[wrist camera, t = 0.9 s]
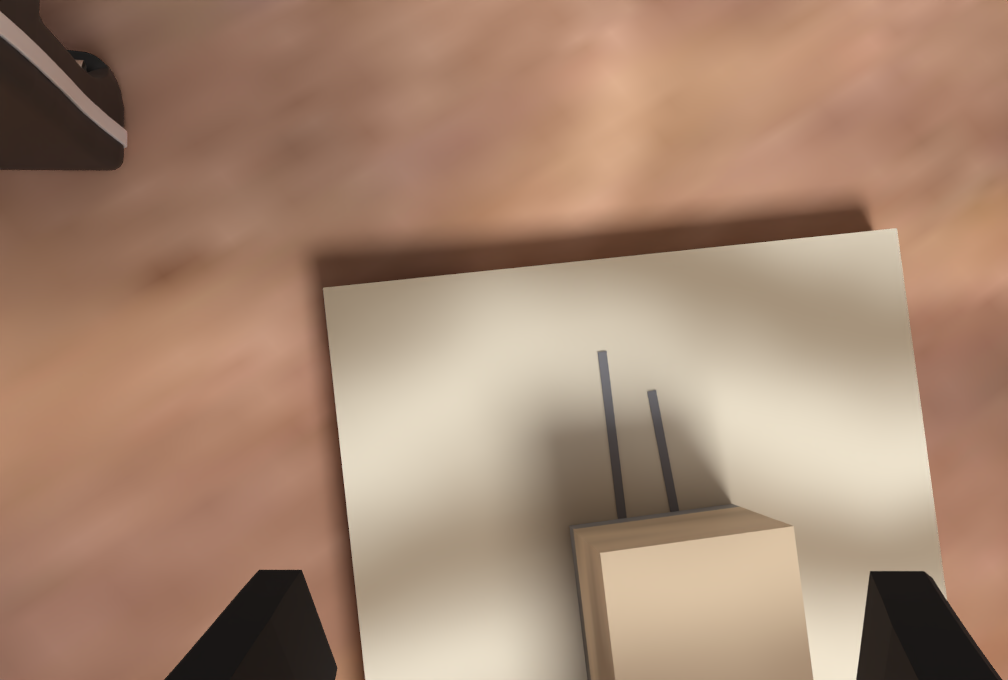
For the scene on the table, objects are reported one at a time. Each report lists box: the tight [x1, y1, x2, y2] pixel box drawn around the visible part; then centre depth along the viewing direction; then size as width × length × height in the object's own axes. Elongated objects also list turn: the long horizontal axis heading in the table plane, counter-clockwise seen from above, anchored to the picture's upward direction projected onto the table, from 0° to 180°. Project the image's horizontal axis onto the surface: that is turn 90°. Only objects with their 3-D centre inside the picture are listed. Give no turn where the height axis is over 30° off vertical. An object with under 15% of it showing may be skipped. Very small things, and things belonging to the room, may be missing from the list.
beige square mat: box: [323, 228, 947, 680], centre depth 25 cm, size 16×16×1 cm
